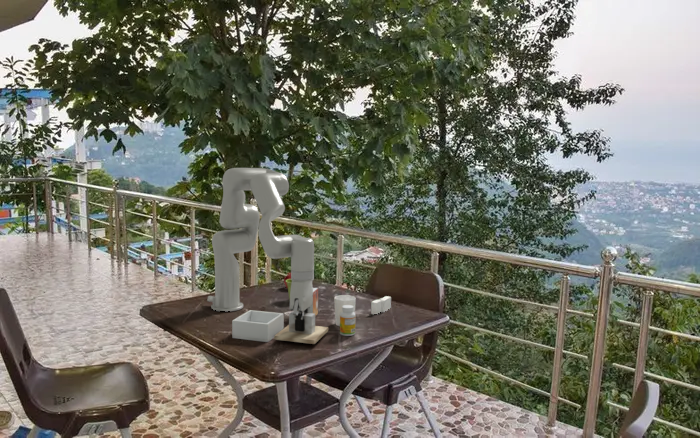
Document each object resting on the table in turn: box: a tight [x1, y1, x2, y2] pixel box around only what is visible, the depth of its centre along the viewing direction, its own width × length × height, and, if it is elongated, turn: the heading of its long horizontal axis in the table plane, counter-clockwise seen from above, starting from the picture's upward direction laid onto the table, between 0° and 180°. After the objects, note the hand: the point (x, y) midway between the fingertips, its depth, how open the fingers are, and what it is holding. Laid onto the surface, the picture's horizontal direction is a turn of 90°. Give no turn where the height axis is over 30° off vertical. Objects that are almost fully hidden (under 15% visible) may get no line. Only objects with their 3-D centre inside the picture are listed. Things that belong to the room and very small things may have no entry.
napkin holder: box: [370, 295, 392, 315], centre depth 206 cm, size 15×11×6 cm
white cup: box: [333, 294, 357, 327], centre depth 188 cm, size 8×8×10 cm
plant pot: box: [286, 279, 292, 301], centre depth 219 cm, size 9×9×9 cm
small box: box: [299, 287, 319, 317], centre depth 197 cm, size 8×6×10 cm
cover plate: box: [273, 311, 329, 345], centre depth 171 cm, size 14×14×7 cm
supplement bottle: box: [339, 305, 357, 337], centre depth 177 cm, size 5×5×10 cm
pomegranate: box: [283, 272, 291, 289], centre depth 241 cm, size 10×10×9 cm
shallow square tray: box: [231, 309, 285, 343], centre depth 175 cm, size 13×13×6 cm
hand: (302, 328), depth 171 cm, fingers closed on cover plate, 3 cm apart
